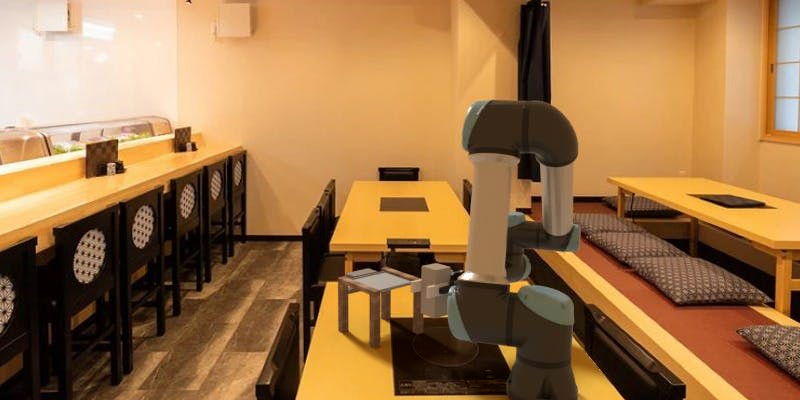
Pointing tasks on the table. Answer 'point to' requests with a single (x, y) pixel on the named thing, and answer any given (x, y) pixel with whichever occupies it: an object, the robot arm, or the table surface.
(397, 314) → the table surface
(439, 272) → the granite block
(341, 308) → the trapdoor frame
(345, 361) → the table surface
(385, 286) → the flap
